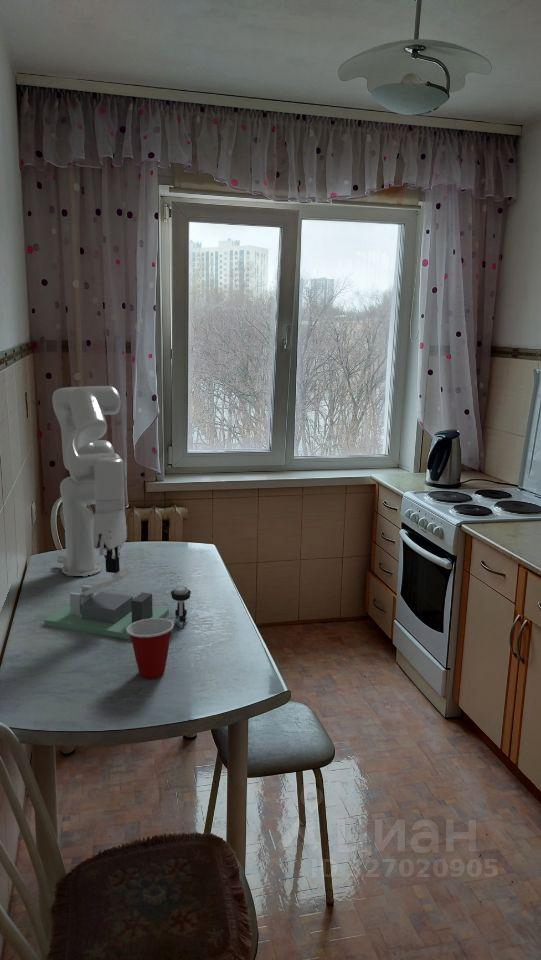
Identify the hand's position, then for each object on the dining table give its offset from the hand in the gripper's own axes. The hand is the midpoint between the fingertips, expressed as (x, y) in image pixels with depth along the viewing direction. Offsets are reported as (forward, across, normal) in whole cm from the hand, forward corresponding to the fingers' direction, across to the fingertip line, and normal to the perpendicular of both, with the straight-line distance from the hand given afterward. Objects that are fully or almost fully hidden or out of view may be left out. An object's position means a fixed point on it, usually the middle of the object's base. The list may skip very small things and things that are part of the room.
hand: (112, 571), depth 188 cm
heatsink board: (+14, -1, -3) cm, 15 cm away
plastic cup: (+16, +22, +22) cm, 35 cm away
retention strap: (+5, -1, -4) cm, 6 cm away
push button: (+15, -5, +17) cm, 23 cm away
